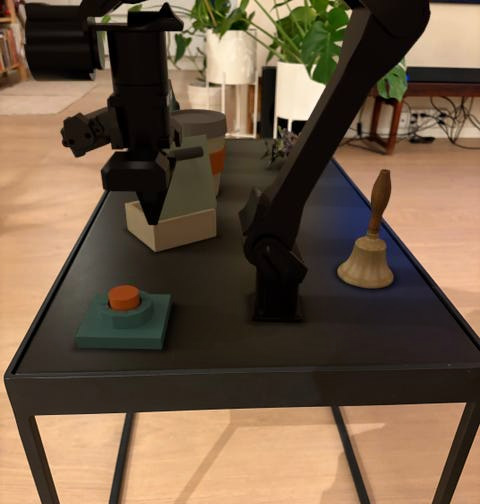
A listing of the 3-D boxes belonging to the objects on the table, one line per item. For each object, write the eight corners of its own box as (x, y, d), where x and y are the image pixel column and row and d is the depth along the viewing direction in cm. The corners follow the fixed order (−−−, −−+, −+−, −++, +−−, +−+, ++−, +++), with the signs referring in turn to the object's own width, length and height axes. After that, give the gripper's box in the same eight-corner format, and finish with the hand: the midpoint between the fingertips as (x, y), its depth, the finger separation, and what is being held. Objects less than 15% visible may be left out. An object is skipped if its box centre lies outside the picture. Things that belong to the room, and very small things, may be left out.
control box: (161, 349, 61) (160, 325, 59) (77, 348, 61) (73, 323, 59) (171, 305, 70) (170, 282, 68) (97, 303, 70) (94, 280, 68)
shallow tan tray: (127, 229, 90) (124, 203, 87) (185, 216, 96) (184, 190, 93) (155, 252, 83) (153, 224, 80) (216, 236, 88) (216, 209, 86)
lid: (136, 145, 76) (150, 142, 72) (203, 134, 82) (219, 132, 78) (151, 221, 80) (165, 223, 76) (215, 207, 86) (231, 207, 82)
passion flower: (298, 195, 121) (309, 163, 110) (253, 184, 121) (260, 150, 110) (306, 157, 125) (318, 122, 114) (262, 146, 125) (270, 110, 114)
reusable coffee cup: (238, 196, 104) (240, 119, 96) (182, 208, 99) (179, 126, 90) (208, 179, 113) (207, 106, 105) (155, 188, 107) (150, 112, 99)
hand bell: (384, 262, 81) (404, 161, 72) (400, 289, 74) (424, 180, 66) (332, 262, 81) (346, 160, 72) (343, 289, 74) (359, 180, 65)
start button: (137, 312, 62) (135, 300, 61) (107, 312, 62) (105, 299, 61) (142, 297, 65) (141, 285, 64) (113, 296, 65) (112, 284, 64)
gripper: (83, 67, 60) (102, 195, 69) (31, 98, 45) (63, 259, 53) (179, 68, 60) (185, 196, 69) (159, 99, 45) (171, 260, 54)
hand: (153, 224), depth 61 cm, fingers closed
